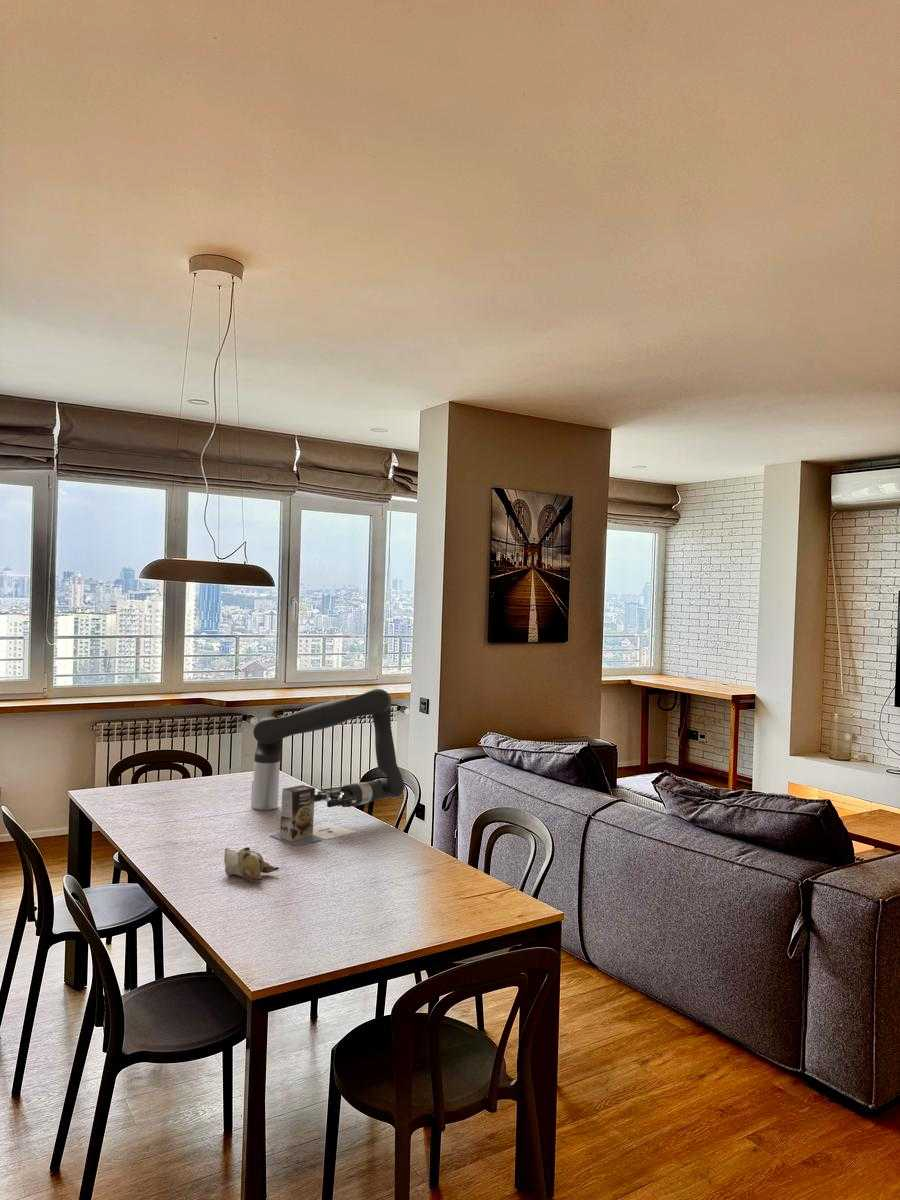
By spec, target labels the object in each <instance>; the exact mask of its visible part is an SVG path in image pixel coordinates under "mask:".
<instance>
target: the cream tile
mask: <svg viewBox="0 0 900 1200" xmlns="http://www.w3.org/2000/svg"><path fill="white" fill-rule="evenodd" d="M354 833H356V831H355V830H351V829H348V828H345V827H342V826H339V825H336V824H333V823H330V822H326V823H322V824H318V825H313V837H316V838H319V839H322V840H325V841H326V840H330V839H334V838H338V837H343V836H347V835H351V834H354Z"/></svg>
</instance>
